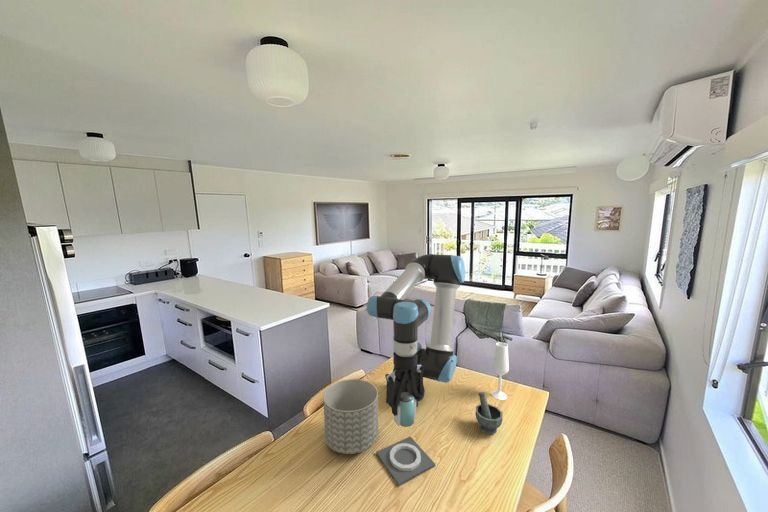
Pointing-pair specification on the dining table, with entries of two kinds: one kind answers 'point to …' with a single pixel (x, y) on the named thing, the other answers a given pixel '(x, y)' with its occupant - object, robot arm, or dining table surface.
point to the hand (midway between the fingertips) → (405, 419)
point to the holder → (405, 460)
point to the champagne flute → (500, 367)
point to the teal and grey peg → (406, 409)
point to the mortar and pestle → (488, 415)
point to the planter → (351, 416)
